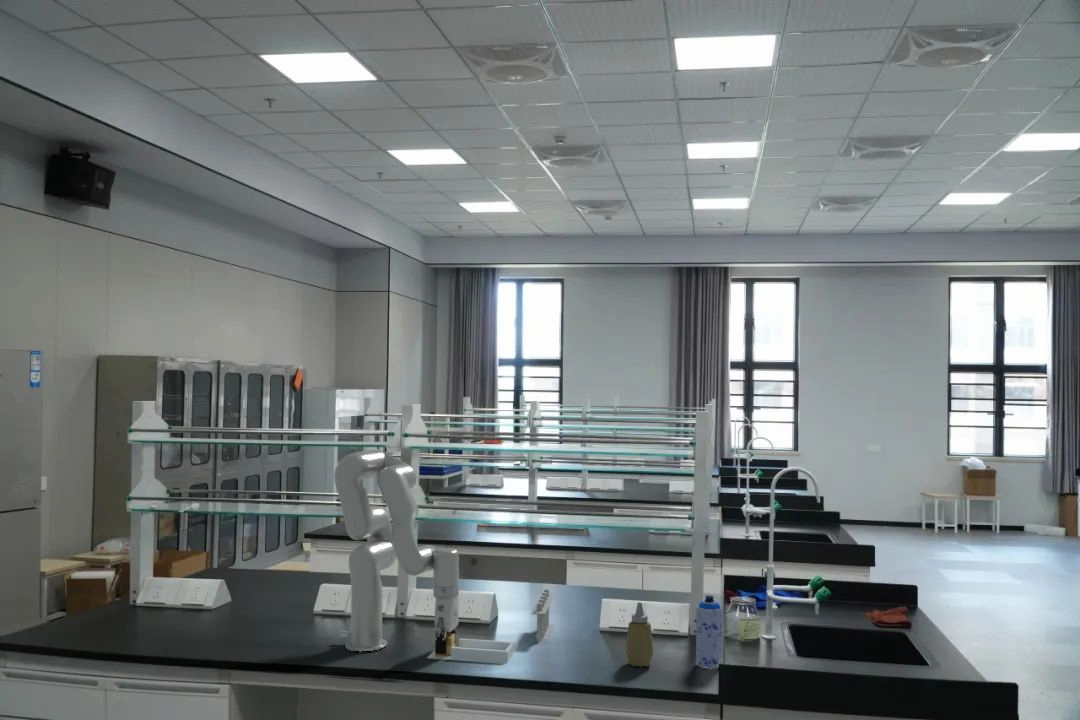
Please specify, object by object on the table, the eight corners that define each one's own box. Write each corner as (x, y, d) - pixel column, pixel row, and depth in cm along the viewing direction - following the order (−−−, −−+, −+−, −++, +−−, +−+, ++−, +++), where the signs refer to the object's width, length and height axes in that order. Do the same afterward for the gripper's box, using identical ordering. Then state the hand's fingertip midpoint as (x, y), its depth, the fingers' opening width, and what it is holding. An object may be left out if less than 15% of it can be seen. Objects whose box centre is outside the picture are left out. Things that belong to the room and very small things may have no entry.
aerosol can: (719, 660, 260) (719, 593, 261) (725, 669, 253) (726, 599, 253) (692, 660, 260) (693, 593, 260) (698, 669, 252) (699, 599, 253)
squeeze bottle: (651, 660, 260) (651, 599, 261) (655, 669, 252) (655, 606, 252) (623, 660, 260) (624, 599, 260) (627, 669, 252) (627, 606, 252)
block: (434, 655, 258) (435, 638, 258) (438, 650, 263) (438, 633, 263) (451, 656, 258) (451, 638, 258) (454, 650, 263) (455, 633, 263)
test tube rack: (540, 625, 295) (541, 586, 295) (554, 626, 294) (554, 587, 295) (530, 648, 270) (531, 605, 270) (545, 649, 270) (545, 606, 270)
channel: (426, 663, 256) (426, 647, 256) (438, 650, 267) (439, 635, 268) (506, 669, 251) (506, 653, 251) (515, 655, 263) (515, 640, 263)
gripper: (449, 598, 252) (449, 658, 252) (465, 584, 269) (465, 640, 269) (424, 597, 253) (424, 657, 253) (442, 583, 270) (442, 639, 270)
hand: (445, 648), depth 261 cm, fingers open, 9 cm apart
